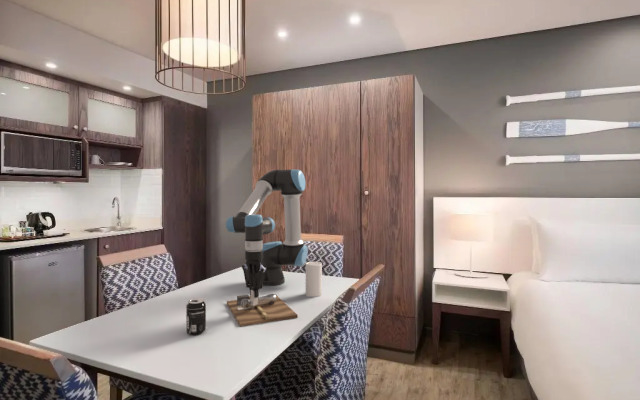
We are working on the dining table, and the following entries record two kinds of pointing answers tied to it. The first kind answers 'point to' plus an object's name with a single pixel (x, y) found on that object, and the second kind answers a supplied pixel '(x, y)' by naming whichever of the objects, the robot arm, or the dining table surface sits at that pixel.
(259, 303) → the bar
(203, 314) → the beverage can
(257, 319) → the door board
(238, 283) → the dining table surface
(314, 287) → the cup
